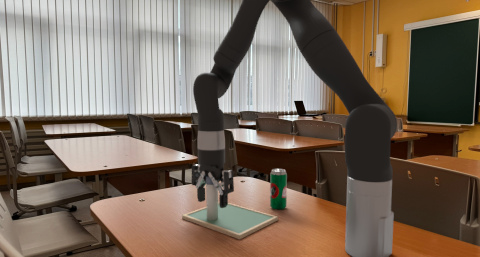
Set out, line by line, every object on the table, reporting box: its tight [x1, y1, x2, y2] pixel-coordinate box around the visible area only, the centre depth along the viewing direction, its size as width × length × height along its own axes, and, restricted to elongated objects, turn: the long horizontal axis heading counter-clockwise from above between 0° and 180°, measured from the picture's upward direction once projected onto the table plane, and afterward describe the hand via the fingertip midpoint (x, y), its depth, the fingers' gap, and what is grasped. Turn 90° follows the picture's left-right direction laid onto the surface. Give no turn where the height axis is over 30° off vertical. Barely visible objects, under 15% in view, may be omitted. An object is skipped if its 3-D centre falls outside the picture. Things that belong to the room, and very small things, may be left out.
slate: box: [181, 201, 279, 240], centre depth 97 cm, size 22×17×1 cm
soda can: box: [269, 168, 288, 211], centre depth 106 cm, size 5×5×12 cm
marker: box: [205, 176, 219, 220], centre depth 95 cm, size 3×3×12 cm
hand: (212, 204), depth 95 cm, fingers open, 8 cm apart
